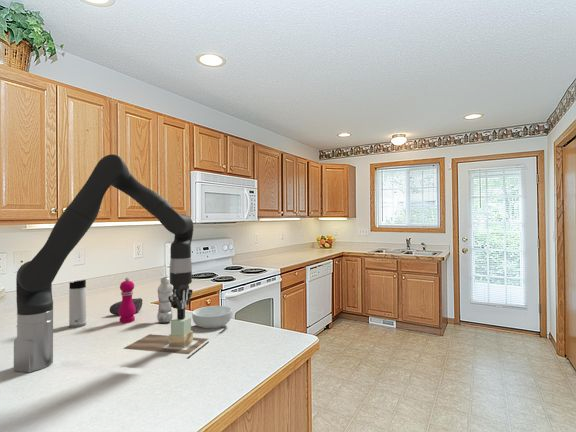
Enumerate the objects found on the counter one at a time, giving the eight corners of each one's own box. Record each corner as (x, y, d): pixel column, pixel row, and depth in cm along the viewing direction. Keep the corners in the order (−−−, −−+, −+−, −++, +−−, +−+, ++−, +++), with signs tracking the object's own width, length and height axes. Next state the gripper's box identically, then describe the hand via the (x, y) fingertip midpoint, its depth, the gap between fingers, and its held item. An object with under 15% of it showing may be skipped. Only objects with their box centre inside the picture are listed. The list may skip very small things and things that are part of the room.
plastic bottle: (167, 319, 159) (167, 276, 159) (175, 321, 154) (175, 277, 155) (154, 322, 154) (154, 278, 154) (162, 325, 150) (162, 279, 150)
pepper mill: (114, 322, 155) (114, 278, 155) (128, 318, 161) (128, 275, 161) (125, 324, 151) (125, 279, 152) (139, 320, 158) (139, 276, 158)
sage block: (183, 335, 119) (183, 321, 119) (170, 334, 120) (170, 320, 120) (190, 331, 124) (190, 317, 124) (178, 330, 125) (178, 316, 125)
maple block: (184, 347, 118) (184, 336, 119) (168, 346, 120) (168, 335, 120) (192, 341, 124) (192, 330, 124) (178, 340, 126) (178, 329, 126)
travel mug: (78, 328, 146) (78, 281, 147) (65, 327, 148) (65, 281, 148) (90, 323, 153) (89, 278, 153) (77, 323, 154) (77, 278, 154)
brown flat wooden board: (188, 358, 113) (188, 353, 113) (122, 352, 119) (122, 348, 119) (208, 342, 128) (208, 338, 128) (149, 338, 133) (149, 334, 133)
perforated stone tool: (109, 317, 163) (109, 302, 163) (109, 314, 168) (109, 300, 168) (143, 313, 170) (143, 299, 170) (142, 310, 175) (142, 297, 175)
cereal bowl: (190, 323, 152) (190, 307, 152) (227, 319, 158) (227, 304, 158) (194, 335, 136) (194, 317, 136) (235, 330, 142) (235, 313, 142)
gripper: (181, 267, 130) (181, 313, 130) (160, 273, 117) (161, 323, 117) (199, 268, 128) (199, 314, 128) (180, 273, 115) (180, 325, 115)
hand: (181, 318), depth 122 cm, fingers closed
